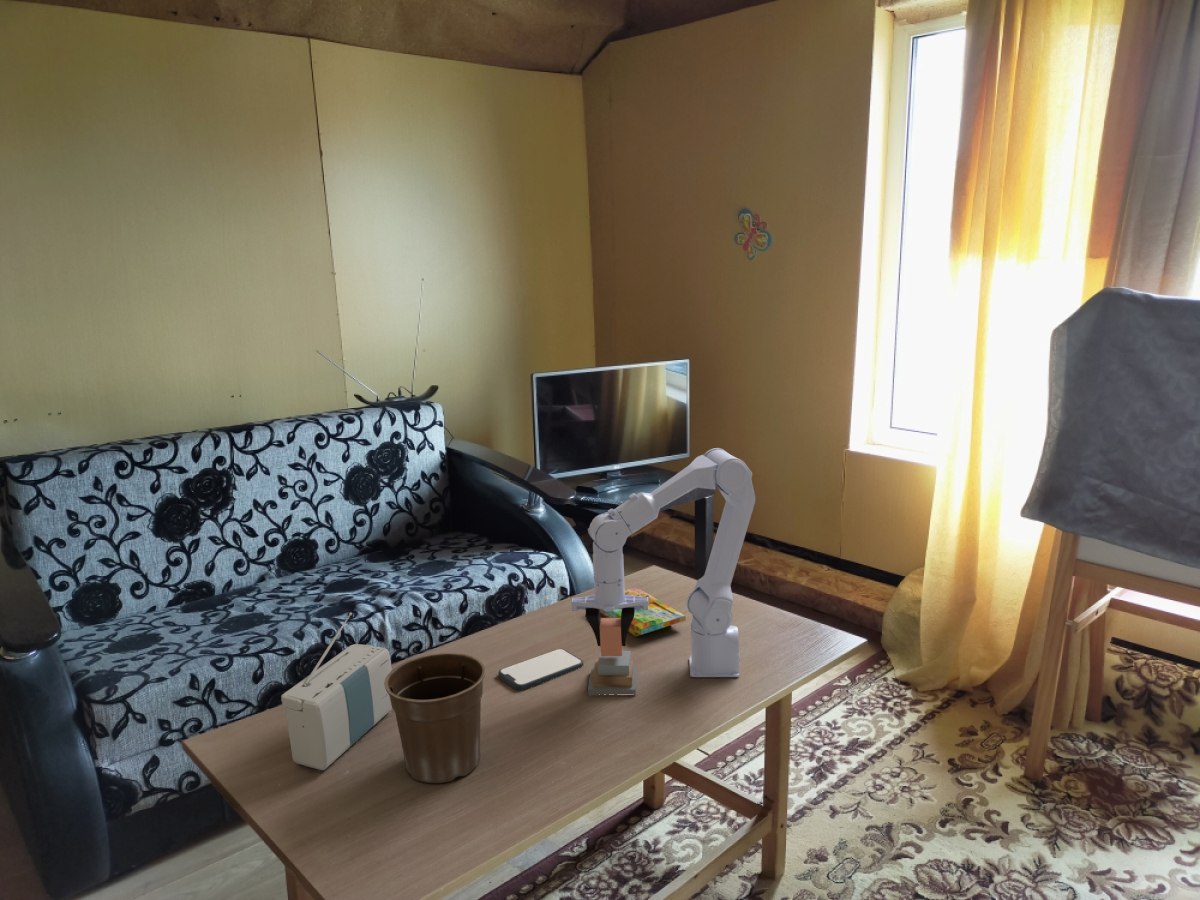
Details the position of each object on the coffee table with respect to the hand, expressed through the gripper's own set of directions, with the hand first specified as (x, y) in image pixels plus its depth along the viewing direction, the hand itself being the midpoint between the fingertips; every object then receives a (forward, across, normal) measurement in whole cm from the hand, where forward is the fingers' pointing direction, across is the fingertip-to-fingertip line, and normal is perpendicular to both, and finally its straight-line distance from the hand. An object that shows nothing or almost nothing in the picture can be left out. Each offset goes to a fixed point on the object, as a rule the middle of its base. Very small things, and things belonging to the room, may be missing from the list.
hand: (611, 643), depth 162 cm
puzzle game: (+9, +4, +28) cm, 29 cm away
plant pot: (+9, -27, -26) cm, 38 cm away
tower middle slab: (+7, 0, 0) cm, 7 cm away
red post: (+2, 0, 0) cm, 2 cm away
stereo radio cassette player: (+9, -46, -19) cm, 51 cm away
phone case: (+9, -15, +5) cm, 18 cm away
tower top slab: (+5, 0, 0) cm, 5 cm away
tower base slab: (+9, 0, 0) cm, 9 cm away
